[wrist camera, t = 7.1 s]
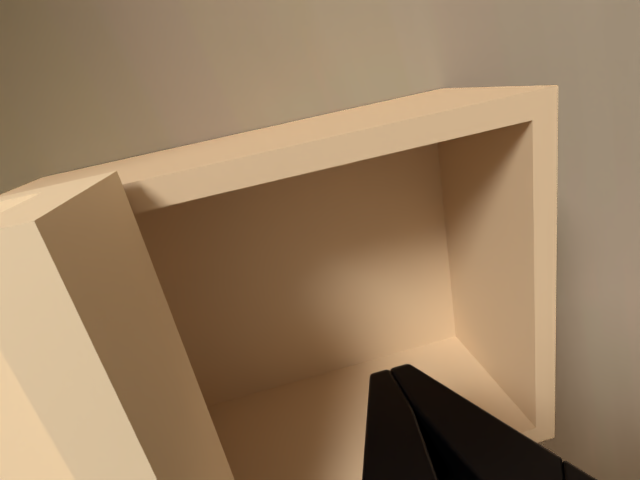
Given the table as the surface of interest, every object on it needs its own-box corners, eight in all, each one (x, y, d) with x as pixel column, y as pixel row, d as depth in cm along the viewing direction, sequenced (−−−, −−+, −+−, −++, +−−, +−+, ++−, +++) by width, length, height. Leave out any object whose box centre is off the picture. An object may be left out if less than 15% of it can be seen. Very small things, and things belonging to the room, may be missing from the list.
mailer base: (442, 88, 14) (558, 84, 9) (463, 336, 17) (554, 437, 12) (42, 177, 13) (-94, 233, 8) (153, 423, 16) (112, 576, 11)
